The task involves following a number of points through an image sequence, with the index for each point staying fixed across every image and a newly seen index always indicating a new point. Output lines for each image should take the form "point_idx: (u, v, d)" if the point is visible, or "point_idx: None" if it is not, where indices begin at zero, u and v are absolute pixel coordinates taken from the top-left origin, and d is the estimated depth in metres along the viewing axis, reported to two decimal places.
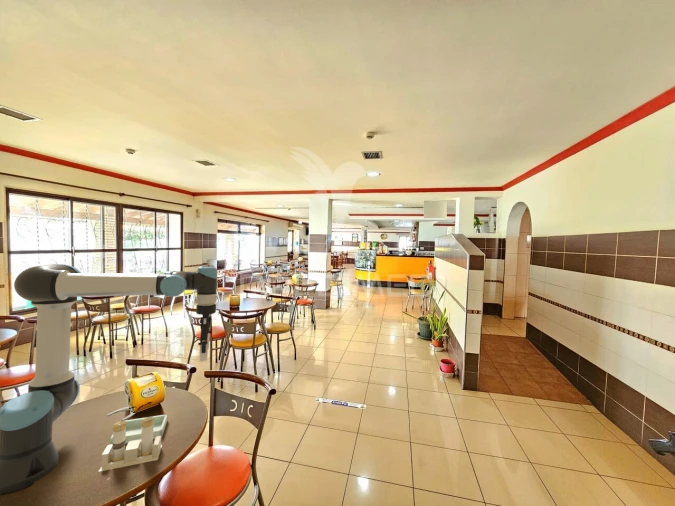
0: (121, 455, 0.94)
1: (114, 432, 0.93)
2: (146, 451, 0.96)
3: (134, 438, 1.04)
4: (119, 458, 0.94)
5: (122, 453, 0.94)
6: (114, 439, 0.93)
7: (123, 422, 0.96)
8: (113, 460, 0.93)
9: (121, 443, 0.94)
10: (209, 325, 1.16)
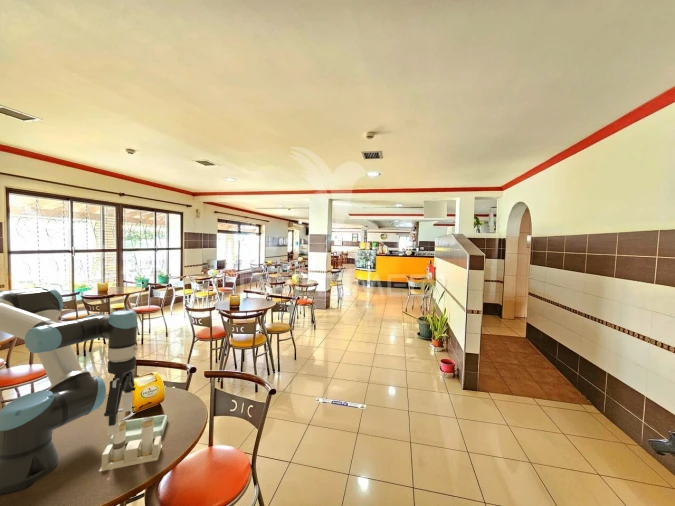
0: (121, 455, 0.94)
1: None
2: (146, 451, 0.96)
3: (134, 438, 1.04)
4: (119, 458, 0.94)
5: (122, 453, 0.94)
6: (114, 439, 0.93)
7: (123, 422, 0.96)
8: (113, 460, 0.93)
9: (121, 443, 0.94)
10: (123, 387, 0.92)
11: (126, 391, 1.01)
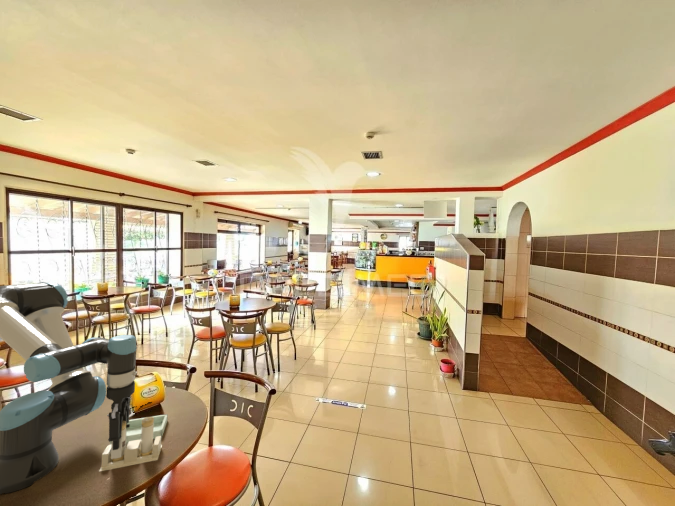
0: None
1: None
2: (146, 451, 0.96)
3: (134, 438, 1.04)
4: (119, 458, 0.94)
5: (122, 453, 0.94)
6: None
7: (123, 422, 0.96)
8: (113, 460, 0.93)
9: None
10: (123, 413, 0.93)
11: None
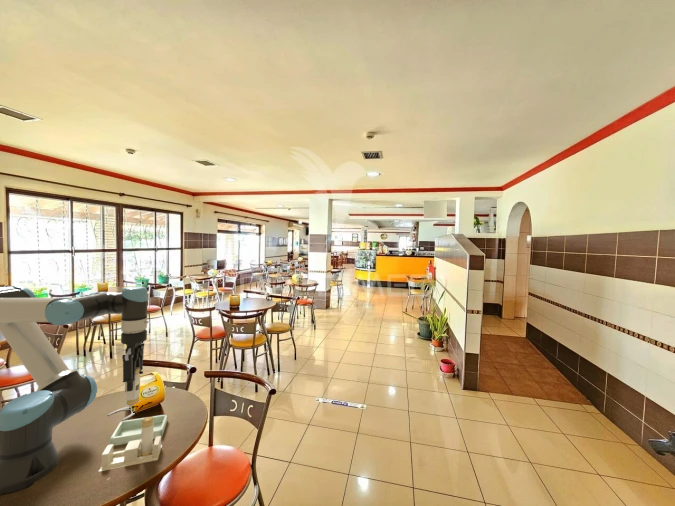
0: (135, 398, 1.00)
1: None
2: (146, 451, 0.96)
3: (134, 438, 1.04)
4: (133, 400, 1.00)
5: (136, 396, 1.01)
6: None
7: (137, 368, 1.02)
8: (128, 402, 1.00)
9: None
10: (136, 358, 1.00)
11: None
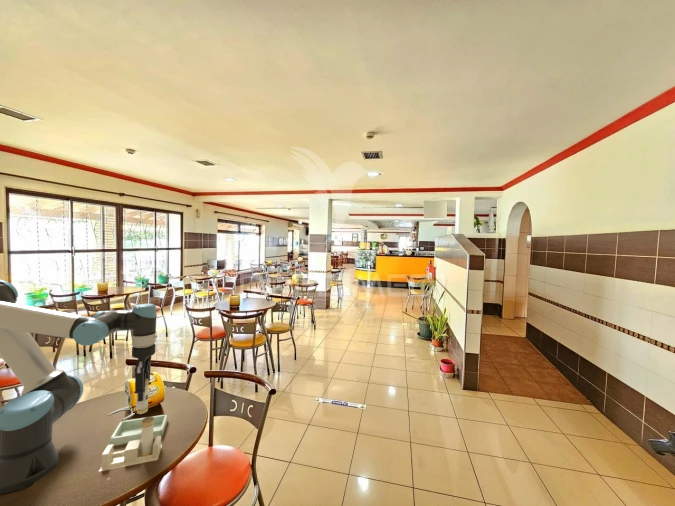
0: (145, 407, 1.08)
1: None
2: (146, 451, 0.96)
3: (134, 438, 1.04)
4: (143, 409, 1.08)
5: (145, 405, 1.09)
6: None
7: (146, 379, 1.10)
8: (138, 411, 1.07)
9: None
10: (146, 370, 1.07)
11: None
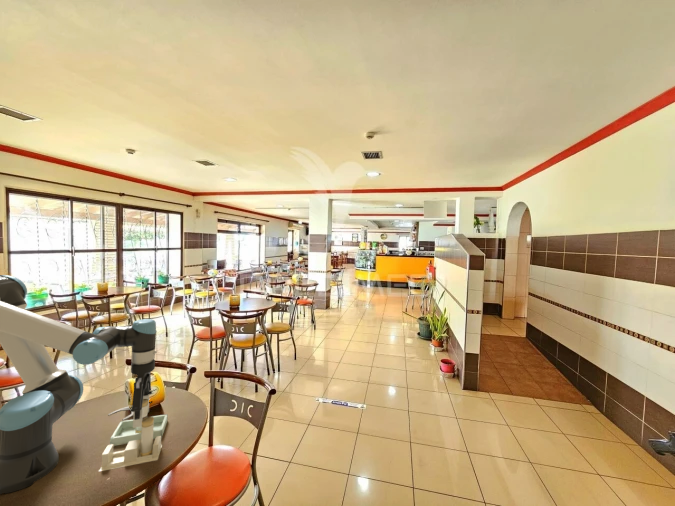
0: None
1: None
2: (146, 451, 0.96)
3: (134, 438, 1.04)
4: (141, 430, 1.08)
5: None
6: None
7: (145, 399, 1.10)
8: (137, 432, 1.07)
9: (144, 417, 1.08)
10: (145, 386, 1.07)
11: (144, 395, 1.14)
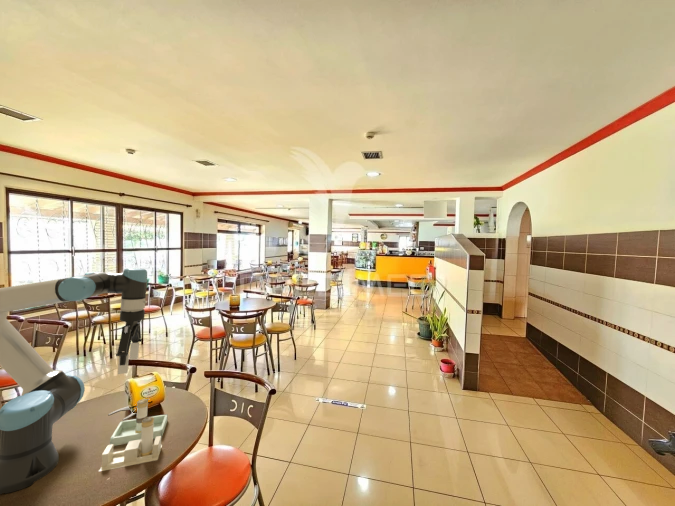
0: None
1: (138, 408, 1.07)
2: (146, 451, 0.96)
3: (134, 438, 1.04)
4: None
5: None
6: (138, 414, 1.07)
7: (145, 400, 1.10)
8: (137, 432, 1.07)
9: None
10: (133, 333, 1.04)
11: (134, 342, 1.13)
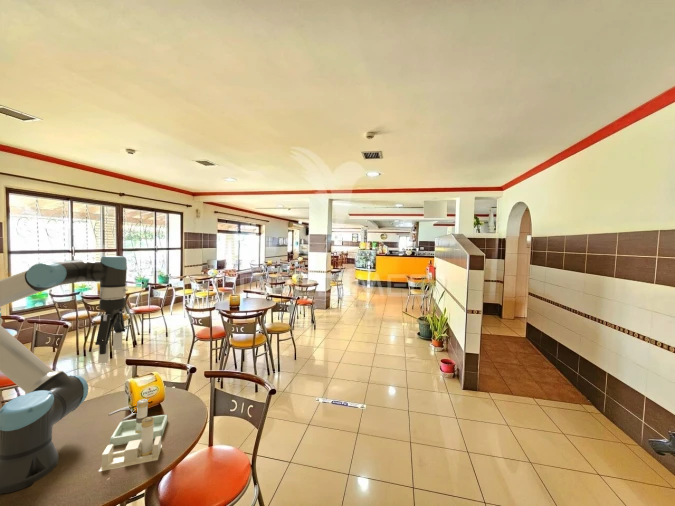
0: None
1: (138, 408, 1.07)
2: (146, 451, 0.96)
3: (134, 438, 1.04)
4: None
5: None
6: (138, 414, 1.07)
7: (145, 400, 1.10)
8: (137, 432, 1.07)
9: None
10: (113, 322, 1.01)
11: (117, 332, 1.11)
